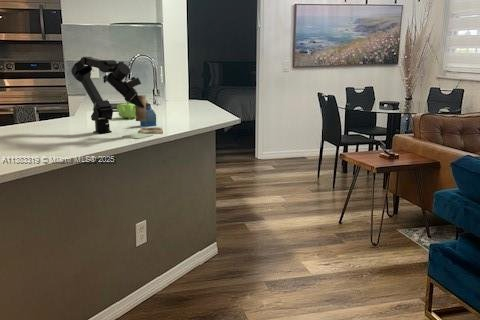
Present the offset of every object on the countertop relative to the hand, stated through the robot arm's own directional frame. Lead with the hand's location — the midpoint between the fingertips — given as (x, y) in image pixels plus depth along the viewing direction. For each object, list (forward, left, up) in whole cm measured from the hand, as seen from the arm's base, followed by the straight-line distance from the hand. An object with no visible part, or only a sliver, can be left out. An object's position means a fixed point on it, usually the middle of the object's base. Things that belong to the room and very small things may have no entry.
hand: (143, 106), depth 219 cm
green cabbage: (-43, +37, -14) cm, 58 cm away
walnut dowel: (-1, -1, -7) cm, 7 cm away
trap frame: (-3, +9, -14) cm, 17 cm away
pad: (0, -4, -14) cm, 15 cm away
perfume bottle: (-16, +23, -14) cm, 31 cm away
